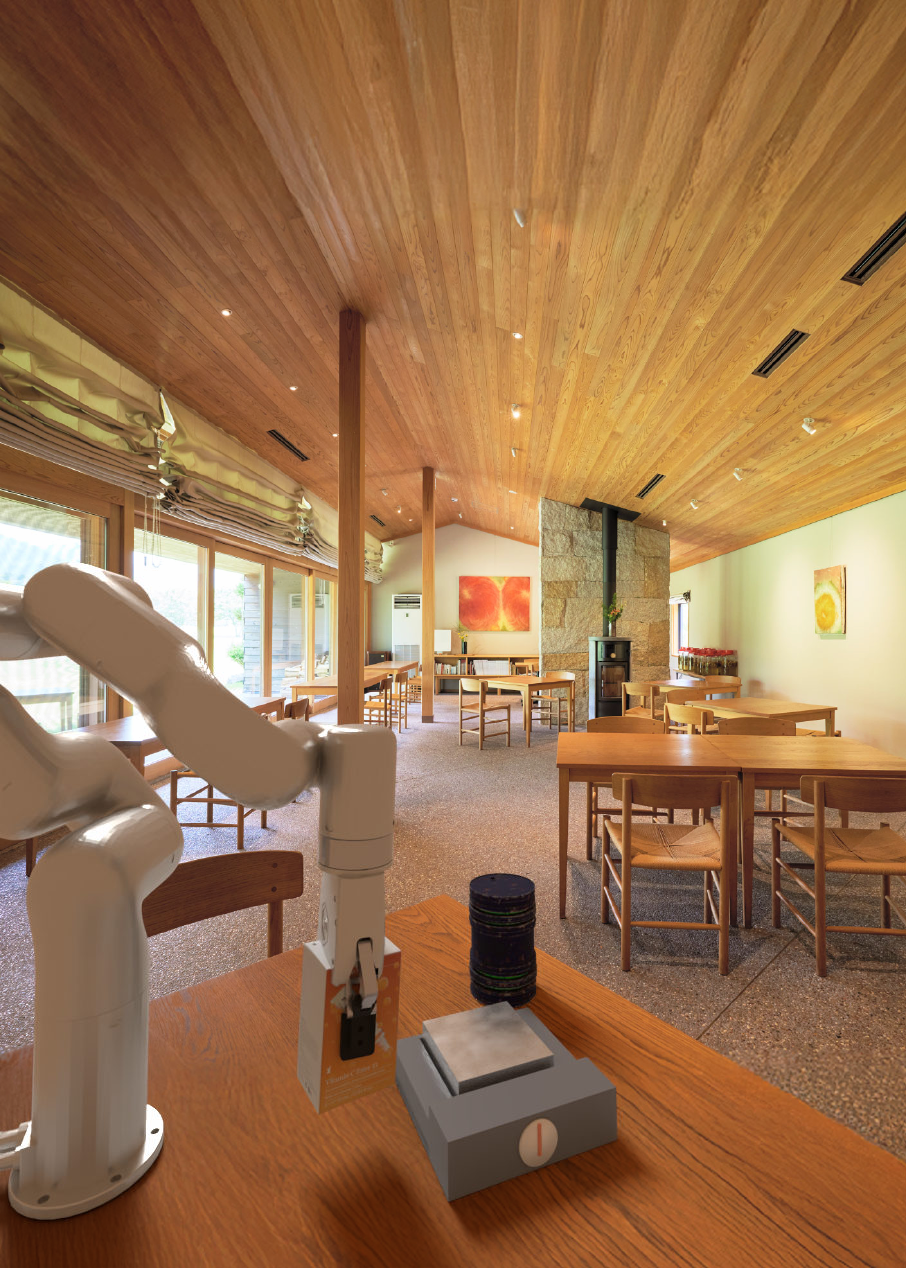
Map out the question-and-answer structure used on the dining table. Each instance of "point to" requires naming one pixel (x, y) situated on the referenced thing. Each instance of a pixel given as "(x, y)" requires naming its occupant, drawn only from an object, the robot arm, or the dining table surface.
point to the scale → (506, 1115)
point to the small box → (321, 1028)
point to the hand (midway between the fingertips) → (348, 1030)
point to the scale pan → (483, 1048)
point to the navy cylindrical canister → (502, 939)
